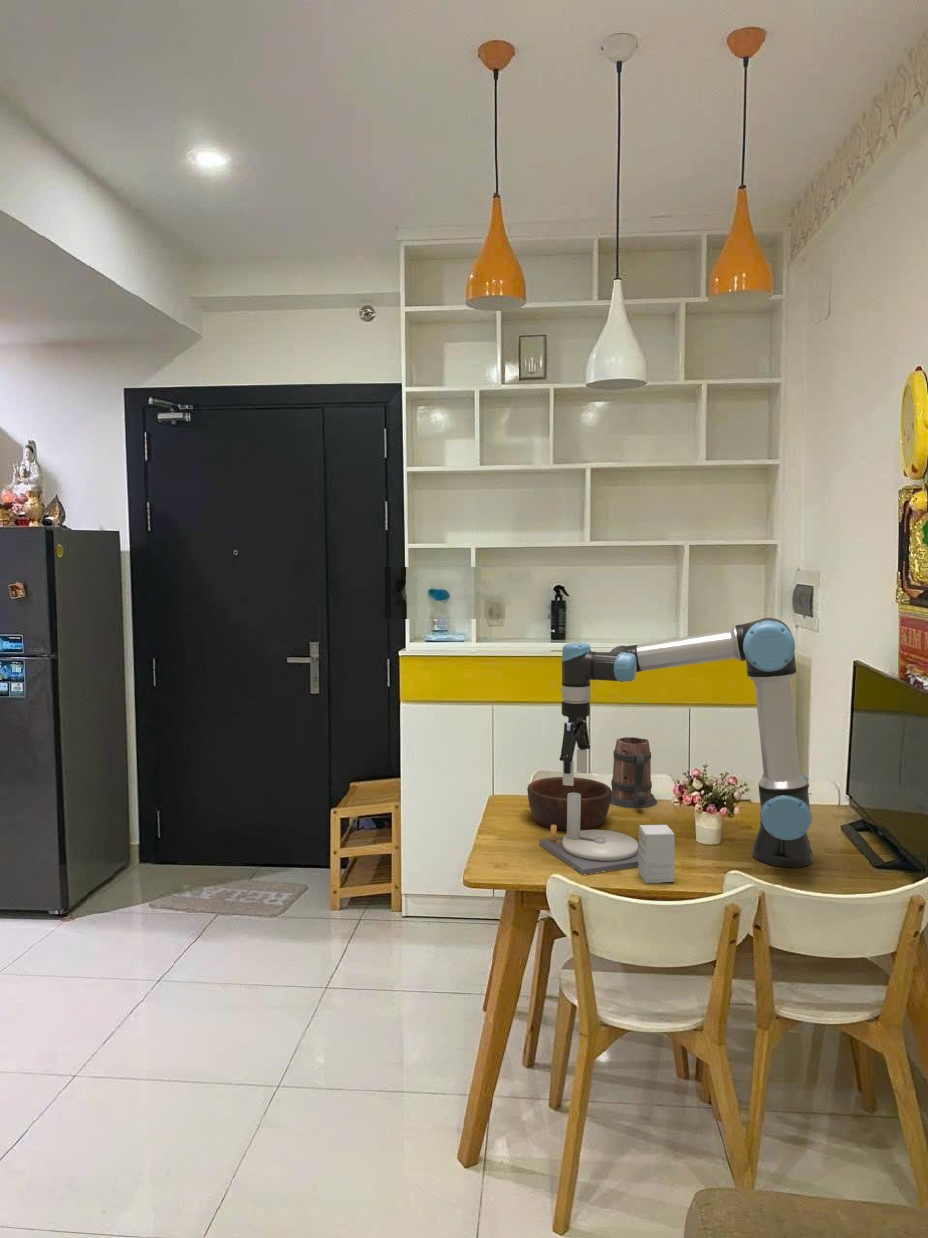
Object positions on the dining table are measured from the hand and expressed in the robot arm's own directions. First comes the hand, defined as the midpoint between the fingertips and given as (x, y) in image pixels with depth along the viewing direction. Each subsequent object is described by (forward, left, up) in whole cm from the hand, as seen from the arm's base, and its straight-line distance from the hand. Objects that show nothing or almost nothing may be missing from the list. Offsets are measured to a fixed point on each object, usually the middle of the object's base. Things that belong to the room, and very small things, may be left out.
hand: (575, 779), depth 239 cm
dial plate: (-5, -5, -20) cm, 21 cm away
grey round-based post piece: (-5, -5, -18) cm, 19 cm away
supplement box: (-25, -9, -20) cm, 33 cm away
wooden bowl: (+23, -11, -20) cm, 32 cm away
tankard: (+31, -39, -20) cm, 54 cm away
